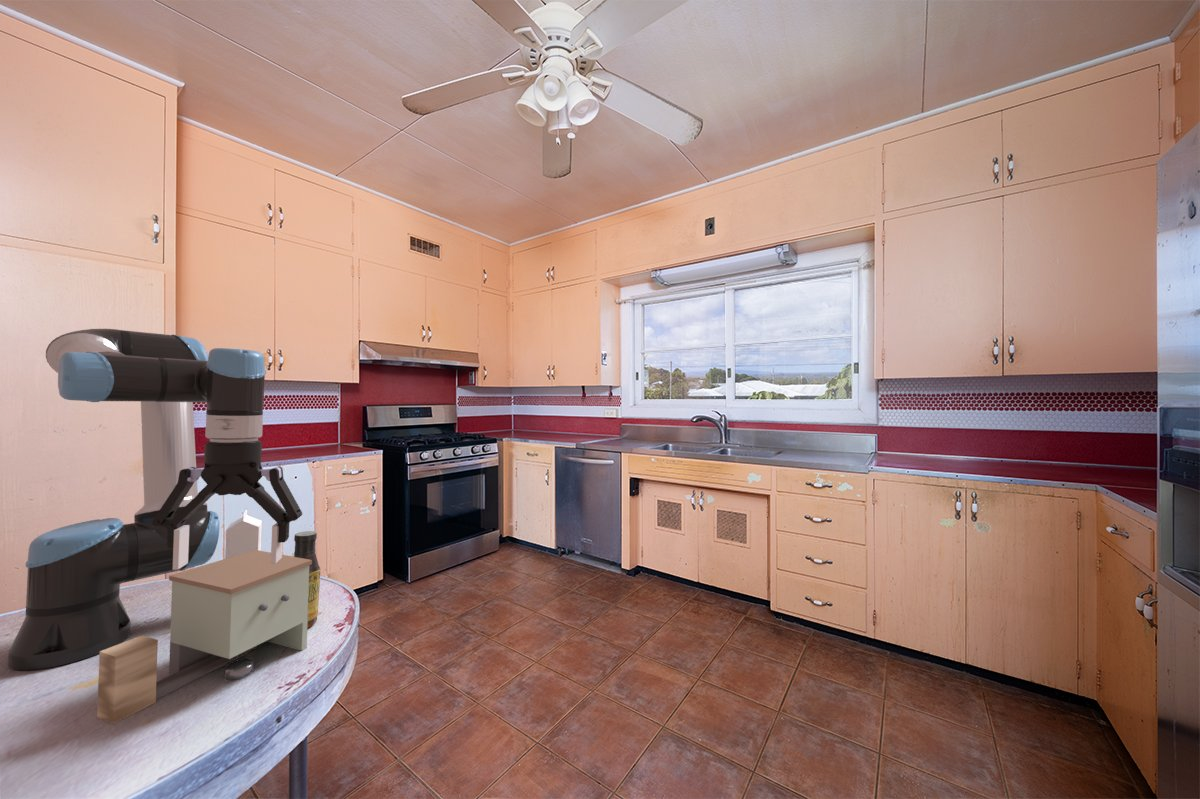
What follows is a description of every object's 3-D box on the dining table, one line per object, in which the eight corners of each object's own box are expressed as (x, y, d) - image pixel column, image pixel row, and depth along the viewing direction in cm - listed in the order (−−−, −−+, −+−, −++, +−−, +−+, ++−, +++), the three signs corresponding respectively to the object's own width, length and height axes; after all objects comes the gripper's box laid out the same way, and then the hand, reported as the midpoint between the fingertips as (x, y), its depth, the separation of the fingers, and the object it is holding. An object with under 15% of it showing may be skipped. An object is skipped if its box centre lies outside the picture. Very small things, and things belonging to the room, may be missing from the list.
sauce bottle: (300, 635, 92) (303, 539, 92) (275, 631, 93) (278, 536, 93) (325, 620, 98) (328, 530, 98) (302, 616, 99) (304, 528, 99)
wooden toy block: (97, 717, 67) (99, 651, 67) (244, 645, 87) (246, 594, 87) (113, 723, 66) (115, 656, 66) (258, 649, 86) (260, 598, 86)
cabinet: (165, 673, 78) (169, 575, 78) (252, 632, 92) (255, 549, 92) (229, 694, 73) (233, 590, 73) (311, 647, 87) (313, 560, 87)
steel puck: (218, 679, 77) (219, 668, 77) (243, 666, 81) (243, 656, 81) (235, 684, 76) (235, 673, 76) (259, 670, 80) (259, 660, 80)
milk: (223, 613, 99) (225, 516, 99) (228, 602, 105) (230, 510, 105) (257, 607, 103) (259, 513, 103) (260, 597, 108) (262, 507, 108)
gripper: (125, 441, 68) (120, 578, 68) (311, 442, 75) (306, 566, 76) (157, 436, 75) (152, 560, 75) (324, 438, 83) (319, 551, 83)
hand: (229, 563), depth 75 cm, fingers open, 13 cm apart
